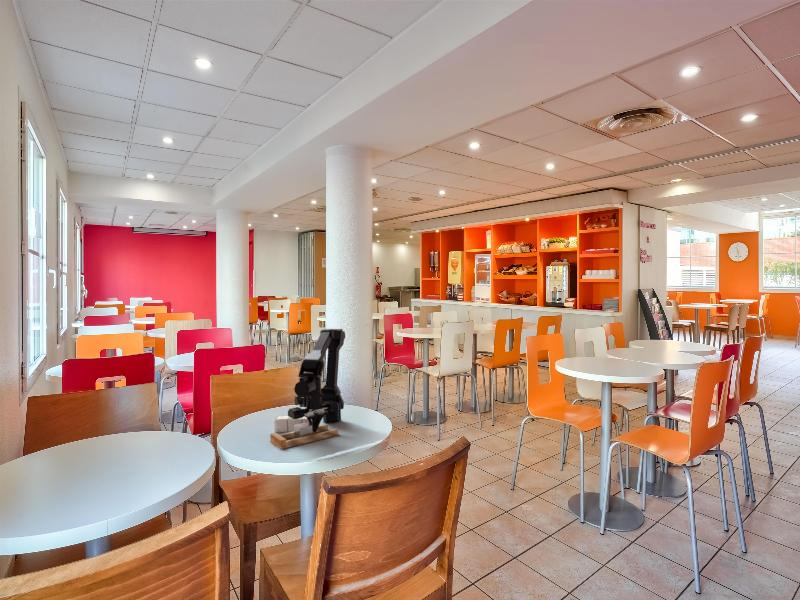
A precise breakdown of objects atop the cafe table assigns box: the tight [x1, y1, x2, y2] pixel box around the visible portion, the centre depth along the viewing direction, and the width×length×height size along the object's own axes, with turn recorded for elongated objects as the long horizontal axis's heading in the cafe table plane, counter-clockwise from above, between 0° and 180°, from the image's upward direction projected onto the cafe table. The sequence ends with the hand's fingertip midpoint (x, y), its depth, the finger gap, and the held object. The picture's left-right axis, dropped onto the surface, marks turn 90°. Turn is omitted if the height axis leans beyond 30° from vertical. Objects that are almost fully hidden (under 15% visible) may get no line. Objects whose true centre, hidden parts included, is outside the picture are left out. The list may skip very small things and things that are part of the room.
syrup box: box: [274, 414, 310, 433], centre depth 179 cm, size 6×6×14 cm
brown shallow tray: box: [269, 423, 341, 451], centre depth 168 cm, size 23×12×4 cm, turn 128°
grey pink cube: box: [293, 422, 312, 439], centre depth 168 cm, size 5×5×5 cm
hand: (314, 432), depth 171 cm, fingers closed
